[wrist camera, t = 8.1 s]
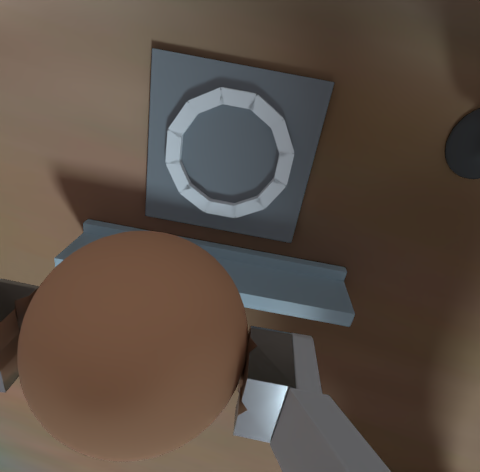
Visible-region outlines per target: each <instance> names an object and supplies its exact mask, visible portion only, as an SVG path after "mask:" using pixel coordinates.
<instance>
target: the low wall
mask: <svg viewBox="0 0 480 472" xmlns="http://www.w3.org/2000/svg"><path fill="white" fill-rule="evenodd" d="M83 231H84V233H83V234H81V235H80V236H79V237H78V238H77V239H76V240H75V241H73V242H72V243H71V244H70V245H69V246H68V247H67V248H65V249H64V250H63V251H62V252H61V253H60V254H59V255H57V256H56V257H55V258H54V259H55V267H56V266H57V265H58V264H60V263H61V262H62V261H63V260H64V259H65V258H67V257H68V256H69V255H71V254H72V253H73V252H75V251H77V250H78V249H80V248H81V247H83V246H85V245H87V244H89V243H91V242H93V241H95V240H98V239H100V238H103V237H106V236H110V235H114V234H118V233H122V232H129V231H149V230H144V229H138V228H133V227H128V226H122V225H117V224H112V223H106V222H101V221H96V220H90V219H87V220H86V221H85V222H84V223H83ZM178 237H181V236H178ZM181 238H184V239H186V240H188V241H190V242H192V243H194V244H196V245H198V246H199V247H201V248H202V249H204V250H206V251H207V252H208V253H209V254H210V255H212V256H213V257H214V258H215V259H216V260H217V261H218V262H219V263H220V264H221V265H222V266H223V267H224V269H225V270H226V271H227V273H228V274H229V275H230V277H231V278H232V280H233V282H234V283H235V285H236V287H237V289H238V291H239V294H240V296H241V299H242V302H243V304H244V307H246V308H251V309H257V310H262V311H267V312H273V313H278V314H283V315H289V316H294V317H299V318H305V319H310V320H315V321H321V322H326V323H331V324H337V325H342V326H347V327H350V325H351V323H352V321H353V318H354V316H355V313H354V310H353V307H352V304H351V301H350V298H349V295H348V292H347V289H346V286H345V283H344V280H345V277H346V274H347V271H346V268H345V267H341V266H336V265H331V264H325V263H320V262H314V261H309V260H304V259H298V258H293V257H288V256H282V255H277V254H272V253H266V252H261V251H256V250H250V249H245V248H240V247H234V246H229V245H224V244H218V243H213V242H208V241H202V240H197V239H192V238H186V237H181Z"/></svg>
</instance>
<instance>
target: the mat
mask: <svg viewBox="0 0 480 472" xmlns="http://www.w3.org/2000/svg"><path fill="white" fill-rule="evenodd" d="M333 86H334V82H330V81H325V80H320V79H314V78H309V77H304V76H298V75H293V74H288V73H282V72H277V71H272V70H266V69H261V68H256V67H250V66H245V65H240V64H234V63H229V62H224V61H218V60H213V59H208V58H202V57H197V56H192V55H186V54H181V53H176V52H170V51H165V50H160V49H154V48H152V66H151V90H150V115H149V140H148V164H147V189H146V214H145V216H149V217H155V218H160V219H166V220H171V221H176V222H182V223H187V224H192V225H198V226H203V227H208V228H214V229H219V230H224V231H230V232H235V233H240V234H246V235H251V236H256V237H262V238H267V239H272V240H278V241H283V242H288V243H291V242H292V238H293V234H294V231H295V227H296V223H297V220H298V216H299V212H300V208H301V205H302V201H303V197H304V194H305V190H306V186H307V182H308V179H309V175H310V171H311V168H312V164H313V160H314V156H315V153H316V149H317V145H318V142H319V138H320V134H321V130H322V127H323V123H324V119H325V116H326V112H327V108H328V104H329V101H330V97H331V93H332V90H333Z"/></svg>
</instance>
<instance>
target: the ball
mask: <svg viewBox="0 0 480 472" xmlns="http://www.w3.org/2000/svg"><path fill="white" fill-rule="evenodd" d="M247 343H248V324H247V319H246V314H245V309H244V304H243V302H242V299H241V296H240V294H239V291H238V289H237V287H236V285H235V283H234V282H233V280H232V278H231V277H230V275H229V274H228V273H227V271H226V270H225V269H224V267H223V266H222V265H221V264H220V263H219V262H218V261H217V260H216V259H215V258H214V257H213V256H212V255H210V254H209V253H208V252H207V251H206V250H204V249H202V248H201V247H199V246H198V245H196V244H194V243H192V242H190V241H188V240H186V239H184V238H181V237H178V236H176V235H172V234H168V233H164V232H156V231H129V232H122V233H118V234H114V235H110V236H106V237H103V238H100V239H98V240H95V241H93V242H91V243H89V244H87V245H85V246H83V247H81V248H80V249H78V250H77V251H75V252H73V253H72V254H71V255H69V256H68V257H67V258H65V259H64V260H63V261H62V262H61V263H60V264H58V265H57V266H56V267H55V268H54V269H53V270H52V272H51V273H50V274H49V275H48V276H47V277H46V278H45V280H44V281H43V282H42V283H41V285H40V286H39V288H38V290H37V291H36V293H35V294H34V296H33V298H32V300H31V302H30V304H29V306H28V308H27V311H26V313H25V316H24V318H23V322H22V325H21V329H20V334H19V339H18V349H17V364H18V373H19V378H20V383H21V387H22V390H23V393H24V396H25V398H26V400H27V402H28V405H29V407H30V409H31V411H32V412H33V414H34V415H35V417H36V418H37V420H38V421H39V422H40V423H41V424H42V426H43V427H44V428H45V429H46V431H47V432H48V433H50V434H51V435H52V436H53V437H54V438H55V439H56V440H58V441H59V442H61V443H62V444H64V445H65V446H67V447H69V448H70V449H72V450H74V451H76V452H79V453H81V454H83V455H86V456H89V457H92V458H96V459H100V460H105V461H112V462H132V461H140V460H146V459H151V458H155V457H158V456H161V455H163V454H166V453H168V452H171V451H173V450H175V449H178V448H180V447H181V446H183V445H184V444H186V443H188V442H189V441H191V440H192V439H194V438H195V437H197V436H198V435H199V434H200V433H202V432H203V431H204V430H205V429H206V428H207V427H208V426H209V425H210V424H211V423H213V422H214V420H215V419H216V418H217V417H218V415H219V414H220V413H221V412H222V410H223V409H224V408H225V407H226V405H227V404H228V402H229V400H230V398H231V396H232V395H233V393H234V391H235V389H236V387H237V385H238V383H239V380H240V377H241V374H242V371H243V368H244V365H245V358H246V351H247Z"/></svg>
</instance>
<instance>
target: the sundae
mask: <svg viewBox="0 0 480 472" xmlns="http://www.w3.org/2000/svg"><path fill="white" fill-rule="evenodd" d="M445 157H446V160H447V163H448V165H449V167H450V169H451V170H452V171H453V172H455V173H456V174H457V175H459V176H461V177H464V178H469V179H479V178H480V108H479V109H477V110H475V111H473V112H471V113H470V114H468V115H466V116H465V117H464V118H463V119H462V120H461V121H460V122H459V123H458V124H457V125H456V126H455V127H454V128H453V130H452V132H451V134H450V136H449V138H448V140H447V143H446V150H445Z"/></svg>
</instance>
